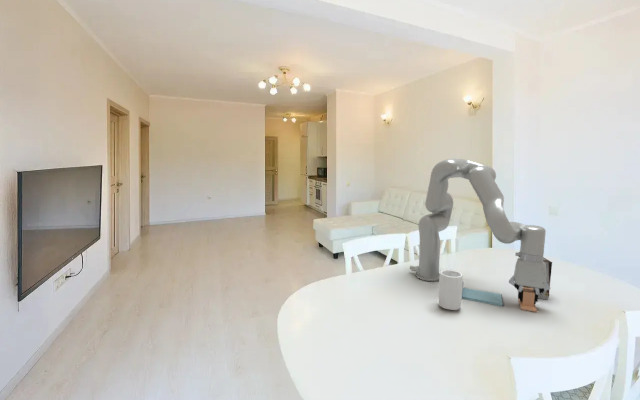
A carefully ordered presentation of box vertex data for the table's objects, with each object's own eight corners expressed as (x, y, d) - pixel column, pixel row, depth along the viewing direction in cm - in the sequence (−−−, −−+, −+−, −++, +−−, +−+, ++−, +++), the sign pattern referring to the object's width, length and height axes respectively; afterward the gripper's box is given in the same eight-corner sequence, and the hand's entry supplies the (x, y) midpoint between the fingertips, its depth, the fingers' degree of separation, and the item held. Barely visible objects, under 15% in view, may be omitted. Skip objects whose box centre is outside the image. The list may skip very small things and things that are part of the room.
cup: (460, 304, 121) (461, 270, 119) (462, 314, 113) (464, 278, 111) (437, 301, 124) (438, 268, 122) (438, 311, 116) (439, 275, 114)
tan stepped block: (521, 309, 116) (522, 293, 116) (518, 298, 125) (519, 284, 124) (536, 312, 114) (538, 296, 113) (532, 301, 123) (534, 286, 122)
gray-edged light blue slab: (453, 298, 126) (454, 291, 126) (455, 287, 138) (456, 280, 137) (503, 308, 118) (504, 300, 118) (501, 295, 129) (502, 288, 129)
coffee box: (549, 299, 125) (553, 262, 123) (532, 298, 126) (535, 261, 124) (538, 290, 134) (541, 255, 132) (522, 289, 135) (525, 254, 133)
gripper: (507, 256, 118) (503, 301, 120) (560, 263, 110) (555, 310, 112) (505, 251, 124) (502, 293, 127) (555, 257, 117) (551, 302, 119)
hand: (527, 301), depth 119 cm, fingers closed on tan stepped block, 3 cm apart
